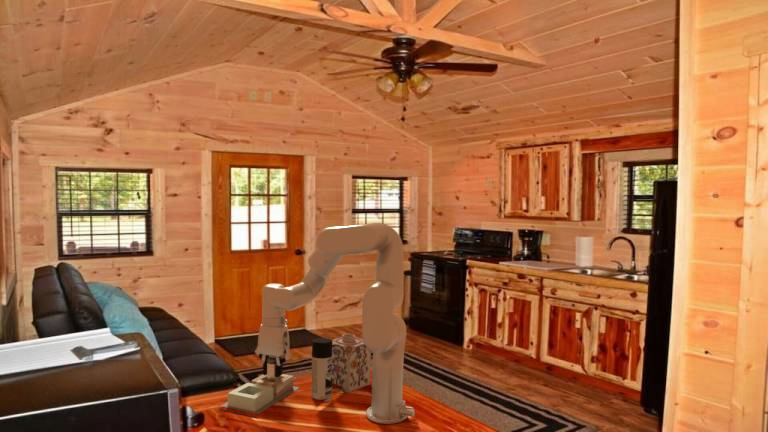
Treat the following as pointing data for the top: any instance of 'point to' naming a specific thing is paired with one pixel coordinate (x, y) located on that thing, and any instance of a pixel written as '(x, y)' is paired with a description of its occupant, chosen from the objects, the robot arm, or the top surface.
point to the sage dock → (250, 396)
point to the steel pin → (271, 369)
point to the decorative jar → (350, 363)
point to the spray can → (322, 369)
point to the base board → (263, 406)
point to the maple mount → (276, 384)
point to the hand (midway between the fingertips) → (272, 374)
